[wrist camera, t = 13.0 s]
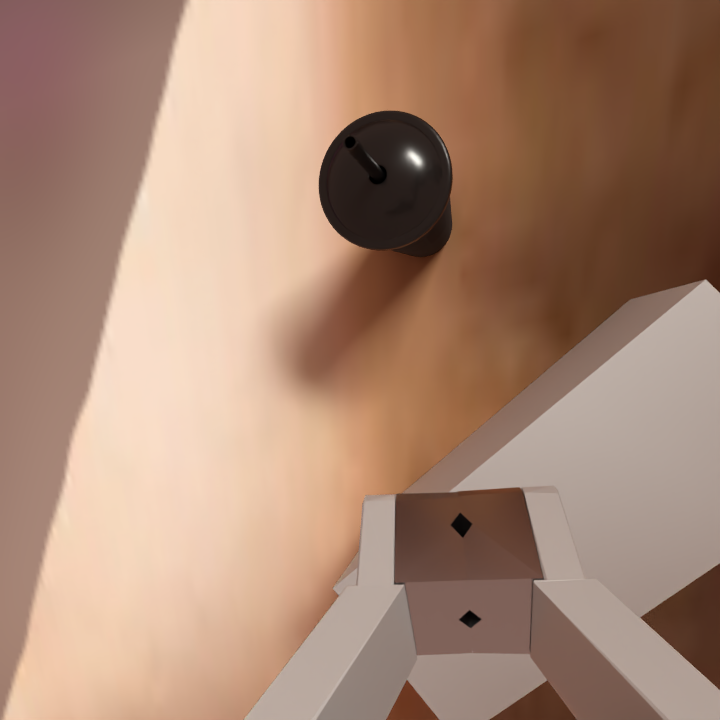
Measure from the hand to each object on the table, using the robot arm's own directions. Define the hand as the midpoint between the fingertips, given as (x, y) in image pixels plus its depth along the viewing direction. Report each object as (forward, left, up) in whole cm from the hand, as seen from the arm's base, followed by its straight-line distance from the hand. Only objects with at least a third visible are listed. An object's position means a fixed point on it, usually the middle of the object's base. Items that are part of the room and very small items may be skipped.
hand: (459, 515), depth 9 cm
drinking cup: (+9, -10, -35) cm, 37 cm away
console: (-5, +6, -35) cm, 36 cm away
